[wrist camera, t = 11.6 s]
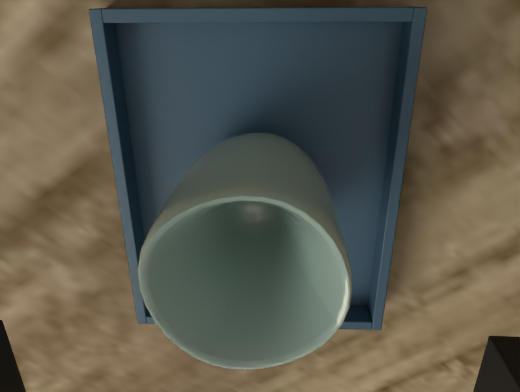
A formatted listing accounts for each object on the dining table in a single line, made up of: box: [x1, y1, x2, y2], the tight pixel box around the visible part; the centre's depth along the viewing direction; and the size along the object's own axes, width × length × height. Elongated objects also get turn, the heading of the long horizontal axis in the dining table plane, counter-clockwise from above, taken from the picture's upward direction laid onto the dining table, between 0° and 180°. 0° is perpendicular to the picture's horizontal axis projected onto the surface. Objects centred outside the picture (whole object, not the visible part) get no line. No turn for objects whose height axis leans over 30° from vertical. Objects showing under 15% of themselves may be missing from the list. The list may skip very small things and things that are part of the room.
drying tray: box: [89, 7, 427, 330], centre depth 24 cm, size 15×18×2 cm
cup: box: [138, 132, 352, 370], centre depth 20 cm, size 8×8×10 cm
